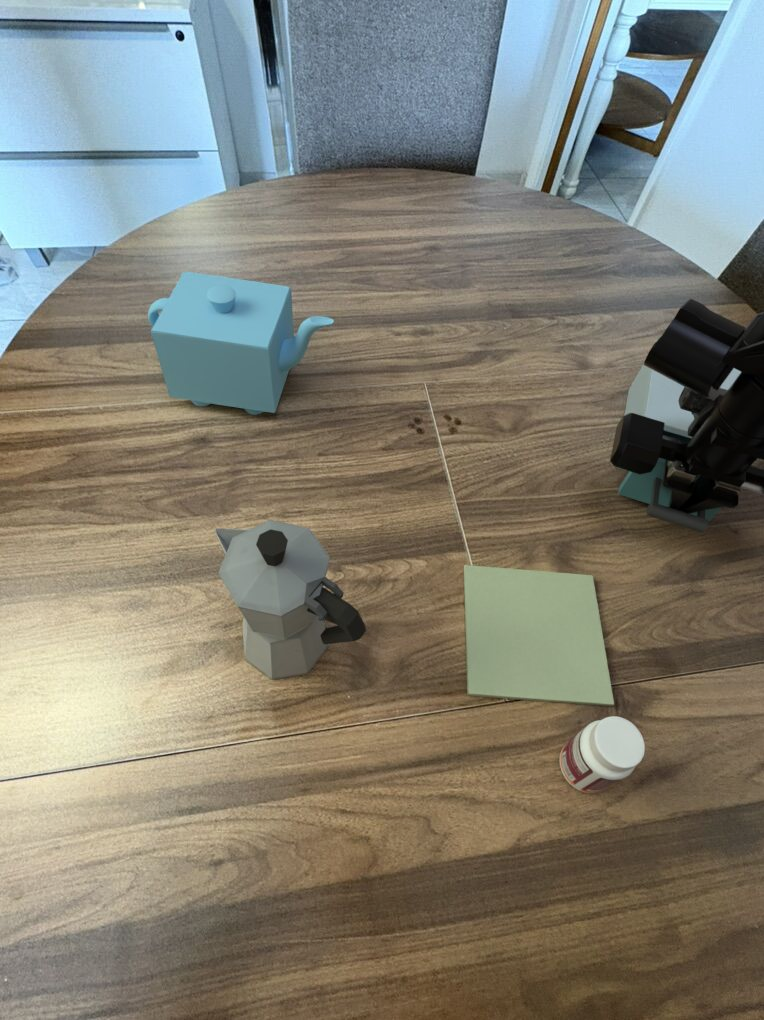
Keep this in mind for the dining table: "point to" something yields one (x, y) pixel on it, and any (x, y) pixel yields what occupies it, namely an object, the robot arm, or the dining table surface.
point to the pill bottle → (601, 754)
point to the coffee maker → (284, 597)
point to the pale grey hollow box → (663, 400)
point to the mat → (534, 636)
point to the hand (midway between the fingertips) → (671, 512)
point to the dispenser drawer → (663, 495)
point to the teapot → (228, 341)
